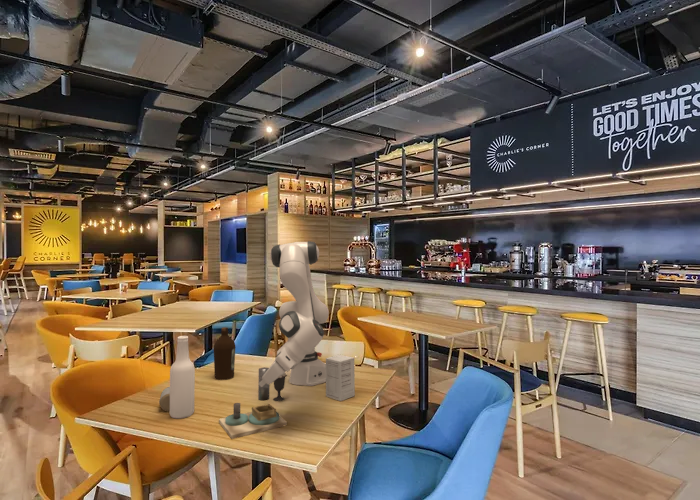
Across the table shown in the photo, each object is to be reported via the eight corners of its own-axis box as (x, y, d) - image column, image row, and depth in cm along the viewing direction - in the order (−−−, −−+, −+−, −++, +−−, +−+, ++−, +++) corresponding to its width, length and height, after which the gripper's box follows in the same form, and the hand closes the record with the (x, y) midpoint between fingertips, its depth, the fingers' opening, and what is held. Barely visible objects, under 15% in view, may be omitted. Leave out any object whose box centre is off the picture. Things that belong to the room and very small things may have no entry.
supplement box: (355, 396, 173) (355, 357, 173) (340, 401, 166) (340, 361, 166) (339, 391, 179) (339, 353, 180) (325, 396, 173) (325, 357, 173)
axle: (267, 396, 148) (267, 366, 148) (271, 399, 145) (271, 369, 145) (256, 398, 146) (257, 368, 146) (260, 401, 142) (260, 371, 143)
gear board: (270, 410, 156) (270, 392, 156) (286, 425, 143) (286, 404, 143) (218, 422, 145) (218, 402, 145) (231, 439, 132) (231, 416, 132)
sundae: (289, 397, 171) (289, 362, 171) (282, 402, 165) (282, 366, 165) (276, 395, 173) (276, 361, 173) (268, 401, 167) (268, 365, 167)
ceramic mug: (158, 413, 153) (159, 393, 154) (160, 405, 161) (161, 386, 161) (187, 410, 157) (188, 390, 157) (188, 403, 165) (189, 384, 165)
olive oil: (212, 381, 193) (212, 330, 194) (214, 374, 204) (215, 326, 204) (234, 379, 196) (234, 329, 196) (235, 373, 206) (236, 325, 206)
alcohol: (178, 421, 146) (179, 339, 147) (164, 416, 151) (165, 337, 151) (199, 413, 154) (199, 335, 154) (185, 408, 158) (185, 333, 159)
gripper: (288, 344, 156) (263, 368, 156) (276, 356, 135) (248, 385, 136) (299, 355, 156) (274, 380, 156) (289, 370, 135) (261, 398, 135)
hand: (262, 382), depth 145 cm, fingers closed on axle, 4 cm apart
